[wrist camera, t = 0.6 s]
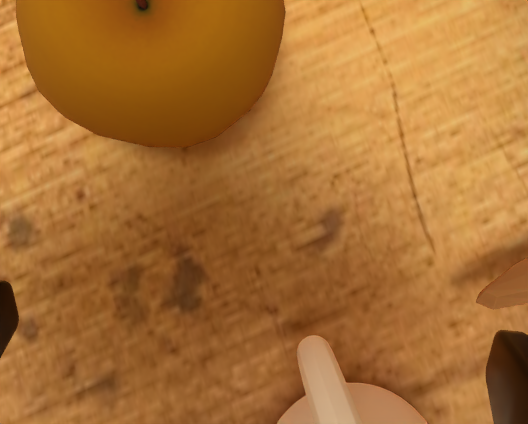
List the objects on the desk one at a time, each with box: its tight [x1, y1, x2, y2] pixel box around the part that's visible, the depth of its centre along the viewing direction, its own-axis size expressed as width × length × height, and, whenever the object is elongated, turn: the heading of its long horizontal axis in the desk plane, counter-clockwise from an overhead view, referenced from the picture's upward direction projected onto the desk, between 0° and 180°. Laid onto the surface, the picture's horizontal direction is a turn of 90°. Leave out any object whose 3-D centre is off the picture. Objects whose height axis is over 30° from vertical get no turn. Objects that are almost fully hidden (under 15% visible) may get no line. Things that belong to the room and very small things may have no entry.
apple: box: [16, 0, 285, 147], centre depth 18 cm, size 9×9×9 cm
